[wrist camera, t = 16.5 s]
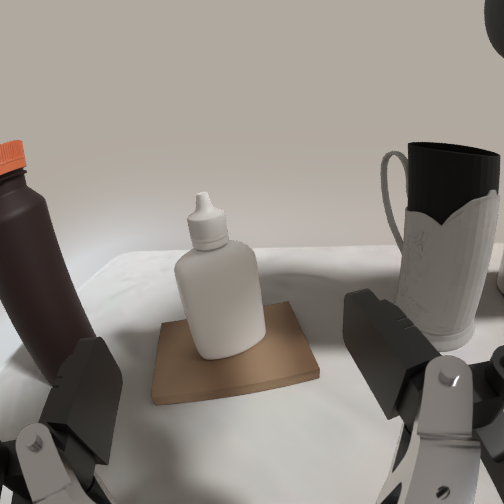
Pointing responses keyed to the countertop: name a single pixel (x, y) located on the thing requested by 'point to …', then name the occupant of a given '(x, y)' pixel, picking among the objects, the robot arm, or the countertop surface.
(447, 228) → the glass holder
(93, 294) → the countertop surface
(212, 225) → the eye dropper bottle
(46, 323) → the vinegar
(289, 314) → the walnut board
